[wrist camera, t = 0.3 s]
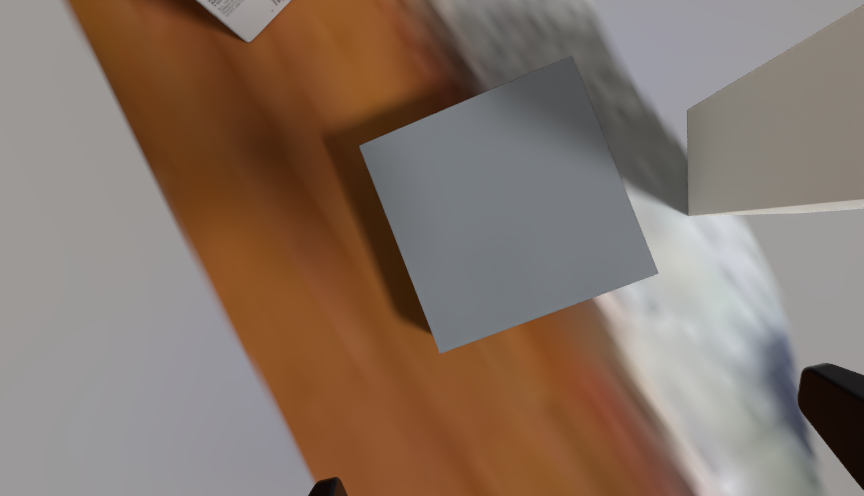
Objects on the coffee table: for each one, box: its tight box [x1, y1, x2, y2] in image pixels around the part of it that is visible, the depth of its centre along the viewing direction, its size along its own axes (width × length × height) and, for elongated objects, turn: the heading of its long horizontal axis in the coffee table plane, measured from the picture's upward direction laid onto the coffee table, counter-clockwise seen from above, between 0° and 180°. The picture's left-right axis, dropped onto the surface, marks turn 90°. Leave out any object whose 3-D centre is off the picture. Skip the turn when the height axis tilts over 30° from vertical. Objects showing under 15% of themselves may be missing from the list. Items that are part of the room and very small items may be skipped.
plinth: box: [359, 56, 658, 353], centre depth 21 cm, size 10×10×2 cm
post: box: [687, 4, 864, 216], centre depth 15 cm, size 5×5×13 cm
